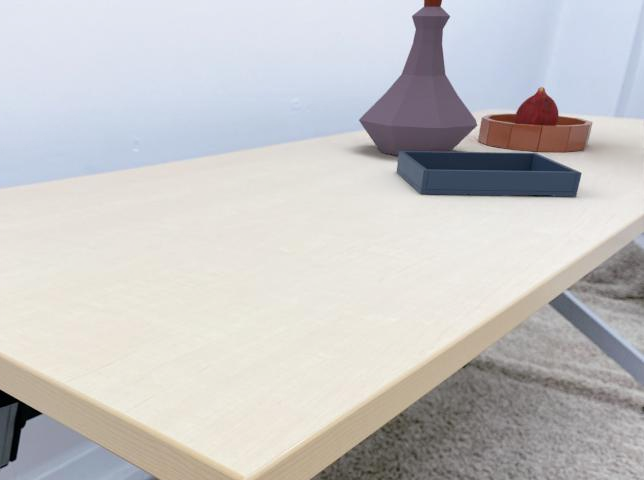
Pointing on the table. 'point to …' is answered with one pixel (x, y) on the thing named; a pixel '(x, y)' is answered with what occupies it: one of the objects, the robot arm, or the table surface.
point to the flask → (421, 96)
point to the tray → (486, 173)
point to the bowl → (535, 134)
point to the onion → (538, 110)
